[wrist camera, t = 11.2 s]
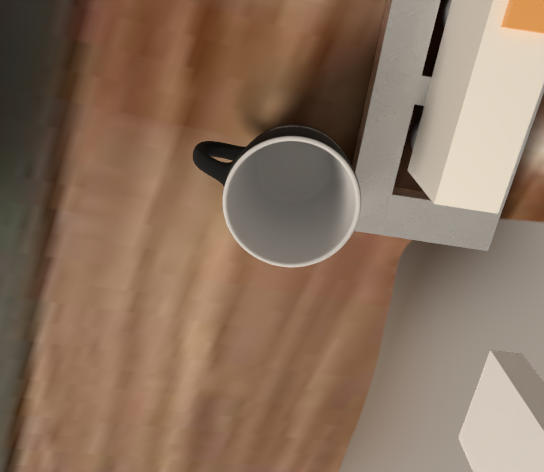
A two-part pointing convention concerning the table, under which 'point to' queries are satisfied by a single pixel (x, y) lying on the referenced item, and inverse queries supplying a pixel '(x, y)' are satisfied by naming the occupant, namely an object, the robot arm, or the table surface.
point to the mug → (286, 194)
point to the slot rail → (392, 134)
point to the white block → (479, 101)
